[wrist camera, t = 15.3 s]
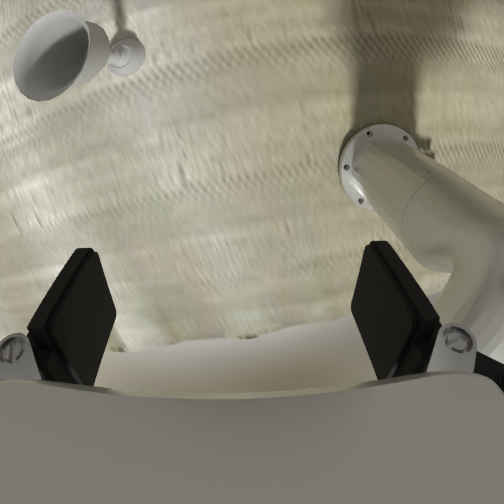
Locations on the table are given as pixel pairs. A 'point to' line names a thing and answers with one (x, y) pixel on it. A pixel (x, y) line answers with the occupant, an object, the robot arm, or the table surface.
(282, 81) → the table surface
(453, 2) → the table surface
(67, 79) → the chalice
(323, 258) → the table surface
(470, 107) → the table surface
